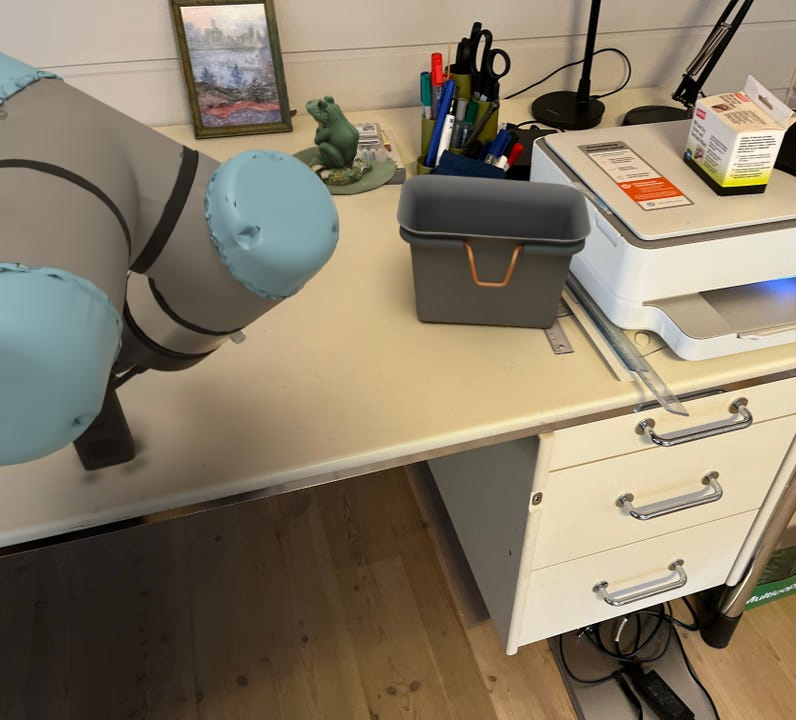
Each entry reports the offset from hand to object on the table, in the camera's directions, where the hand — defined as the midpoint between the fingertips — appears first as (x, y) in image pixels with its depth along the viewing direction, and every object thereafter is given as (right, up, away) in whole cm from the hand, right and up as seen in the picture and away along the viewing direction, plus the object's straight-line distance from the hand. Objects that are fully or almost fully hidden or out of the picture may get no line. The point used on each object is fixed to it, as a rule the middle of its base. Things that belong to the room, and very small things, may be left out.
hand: (90, 388), depth 66 cm
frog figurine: (+12, +33, +54) cm, 65 cm away
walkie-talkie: (-2, -7, +7) cm, 10 cm away
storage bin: (+35, +8, +27) cm, 45 cm away
